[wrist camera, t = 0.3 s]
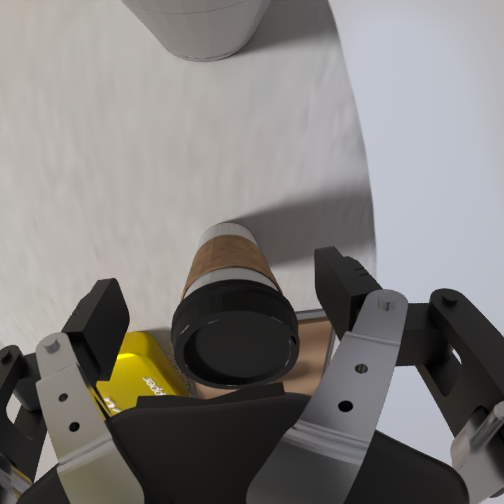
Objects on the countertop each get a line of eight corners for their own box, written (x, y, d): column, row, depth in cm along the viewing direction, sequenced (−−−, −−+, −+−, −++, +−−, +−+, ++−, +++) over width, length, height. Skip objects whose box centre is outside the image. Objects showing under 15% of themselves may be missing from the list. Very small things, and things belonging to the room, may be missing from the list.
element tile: (193, 394, 42) (193, 420, 37) (114, 404, 42) (109, 426, 38) (149, 326, 35) (142, 353, 30) (63, 343, 35) (52, 367, 31)
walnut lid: (183, 329, 34) (179, 365, 29) (330, 316, 36) (346, 348, 31) (203, 410, 42) (203, 440, 37) (314, 398, 44) (322, 426, 39)
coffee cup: (279, 266, 32) (319, 374, 19) (208, 294, 33) (207, 409, 19) (250, 196, 28) (281, 282, 15) (171, 230, 29) (139, 334, 16)
